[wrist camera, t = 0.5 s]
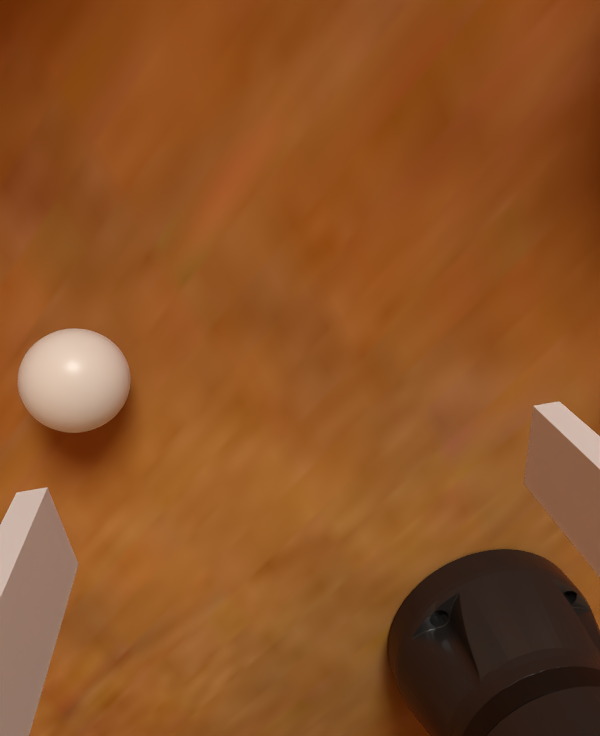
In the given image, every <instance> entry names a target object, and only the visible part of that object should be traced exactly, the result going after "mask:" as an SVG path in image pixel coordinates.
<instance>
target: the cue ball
mask: <svg viewBox="0 0 600 736" xmlns="http://www.w3.org/2000/svg"><path fill="white" fill-rule="evenodd" d="M130 385H131V377H130V370H129V365H128V363H127V360H126V358H125V357H124V355H123V353H122V352H121V350H120V349H119V348H118V347H117V346H116V345H115V344H114V343H113V342H112V341H110V340H109V339H108V338H106V337H105V336H103V335H101V334H99V333H96V332H93V331H90V330H86V329H64V330H59V331H56V332H53V333H51V334H48V335H46V336H45V337H43V338H41V339H40V340H39V341H37V342H36V343H35V344H34V345H33V346H32V347H31V348H30V349H29V350H28V352H27V353H26V355H25V356H24V358H23V360H22V362H21V365H20V368H19V372H18V390H19V394H20V398H21V400H22V402H23V404H24V406H25V407H26V409H27V411H28V412H29V413H30V414H31V415H32V416H33V417H34V418H35V419H36V420H37V421H39V422H40V423H41V424H43V425H45V426H47V427H49V428H51V429H54V430H57V431H62V432H69V433H80V432H86V431H90V430H93V429H96V428H98V427H101V426H103V425H104V424H106V423H107V422H109V421H110V420H111V419H113V418H114V417H115V416H116V415H117V414H118V413H119V411H120V410H121V409H122V407H123V406H124V404H125V402H126V400H127V397H128V394H129V391H130Z"/></svg>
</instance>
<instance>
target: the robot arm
mask: <svg viewBox="0 0 600 736" xmlns="http://www.w3.org/2000/svg"><path fill="white" fill-rule="evenodd" d="M524 485H525V486H526V487H527V488H528V490H529V491H530V492H531V493H532V495H533V496H534V497H535V498H536V500H537V501H538V502H539V503H540V504H541V506H542V507H543V508H544V509H545V511H546V512H547V513H548V514H549V516H550V517H551V518H552V519H553V520H554V522H555V523H556V524H557V525H558V527H559V528H560V529H561V530H562V532H563V533H564V534H565V535H566V536H567V538H568V539H569V540H570V541H571V543H572V544H573V545H574V546H575V548H576V549H577V550H578V551H579V552H580V554H581V555H582V556H583V557H584V559H585V560H586V561H587V562H588V564H589V565H590V566H591V567H592V568H593V570H594V571H595V572H596V573H597V575H598V576H599V577H600V436H599V435H597V434H596V433H595V432H594V431H593V430H592V429H590V428H589V427H588V426H587V425H586V424H585V423H584V422H582V421H581V420H580V419H579V418H578V417H577V416H575V415H574V414H573V413H572V412H571V411H570V410H569V409H567V408H566V407H565V406H564V405H563V404H562V403H560V402H553V403H547V404H541V405H535V406H533V412H532V420H531V428H530V436H529V445H528V453H527V461H526V469H525V477H524ZM77 568H78V562H77V559H76V557H75V554H74V552H73V549H72V547H71V545H70V542H69V540H68V537H67V535H66V532H65V530H64V527H63V525H62V522H61V520H60V517H59V515H58V512H57V510H56V507H55V505H54V502H53V500H52V497H51V495H50V493H49V490H48V488H41V489H35V490H29V491H23V492H17V493H16V495H15V497H14V499H13V501H12V503H11V505H10V507H9V509H8V511H7V513H6V515H5V517H4V519H3V521H2V523H1V525H0V736H29V734H30V731H31V727H32V724H33V720H34V717H35V713H36V710H37V706H38V703H39V700H40V696H41V693H42V689H43V686H44V682H45V679H46V675H47V672H48V668H49V665H50V661H51V658H52V654H53V651H54V648H55V644H56V641H57V637H58V634H59V630H60V627H61V623H62V620H63V616H64V613H65V609H66V606H67V602H68V599H69V595H70V592H71V589H72V585H73V582H74V578H75V575H76V571H77ZM388 655H389V662H390V665H391V669H392V671H393V674H394V677H395V680H396V683H397V686H398V688H399V691H400V693H401V695H402V698H403V699H404V701H405V703H406V704H407V706H408V708H409V709H410V710H411V711H412V713H413V714H414V715H415V717H416V718H417V719H418V720H419V722H420V723H421V724H422V725H423V727H424V728H425V729H426V730H427V732H428V733H429V734H430V735H431V736H600V630H599V627H598V625H597V623H596V620H595V618H594V615H593V613H592V610H591V608H590V606H589V604H588V602H587V601H586V599H585V598H584V596H583V595H582V593H581V592H580V591H579V590H578V588H577V587H576V586H575V585H574V584H573V583H572V582H571V581H570V580H569V578H568V577H567V576H566V575H565V574H564V573H563V572H562V571H561V570H560V569H559V568H558V567H557V566H556V565H554V564H553V563H552V562H550V561H548V560H547V559H545V558H543V557H541V556H538V555H535V554H533V553H529V552H525V551H519V550H507V549H502V550H489V551H483V552H479V553H475V554H471V555H468V556H465V557H462V558H460V559H457V560H455V561H453V562H451V563H449V564H447V565H445V566H443V567H442V568H440V569H438V570H437V571H435V572H434V573H432V574H431V575H430V576H428V577H427V578H426V579H425V580H424V581H422V582H421V583H420V584H419V585H418V586H417V587H416V588H415V589H414V590H413V591H412V592H411V594H410V595H409V596H408V597H407V599H406V600H405V601H404V603H403V604H402V606H401V607H400V609H399V611H398V613H397V615H396V617H395V619H394V622H393V624H392V627H391V631H390V635H389V642H388Z"/></svg>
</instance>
